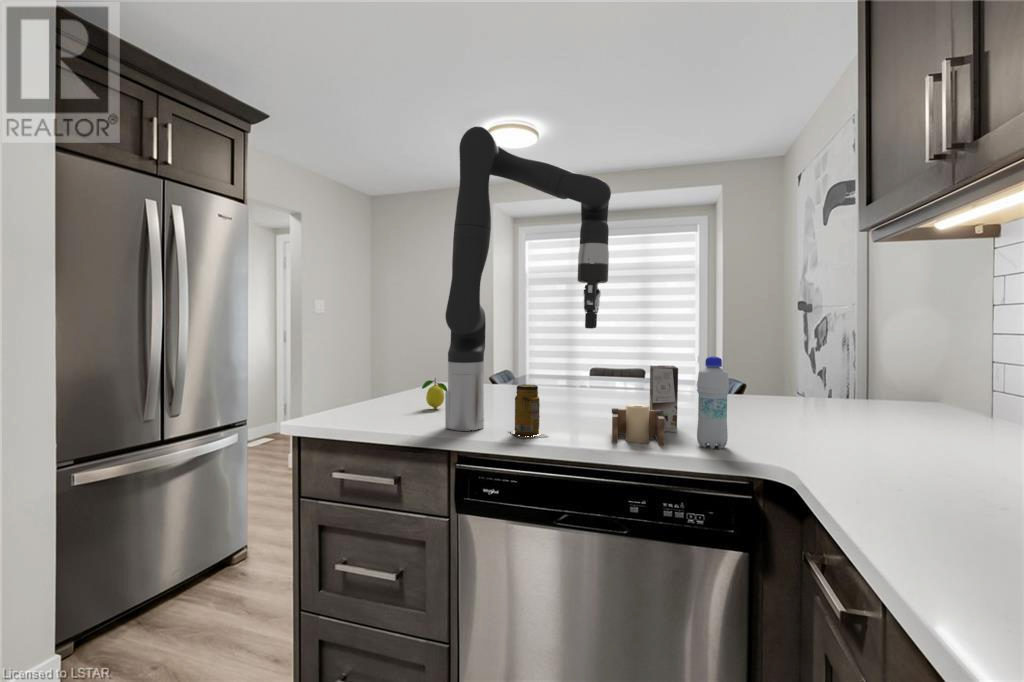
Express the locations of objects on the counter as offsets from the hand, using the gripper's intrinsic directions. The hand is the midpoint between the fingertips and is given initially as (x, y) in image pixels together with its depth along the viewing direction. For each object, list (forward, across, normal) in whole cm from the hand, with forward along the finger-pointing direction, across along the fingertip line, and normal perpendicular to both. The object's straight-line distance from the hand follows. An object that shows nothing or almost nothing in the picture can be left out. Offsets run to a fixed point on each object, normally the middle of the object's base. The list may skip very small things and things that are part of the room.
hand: (590, 328), depth 126 cm
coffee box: (+26, -8, +19) cm, 33 cm away
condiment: (+27, +8, -14) cm, 31 cm away
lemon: (+28, -21, -49) cm, 60 cm away
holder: (+26, +6, +12) cm, 29 cm away
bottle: (+25, +10, +28) cm, 39 cm away
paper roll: (+26, +8, +12) cm, 30 cm away
